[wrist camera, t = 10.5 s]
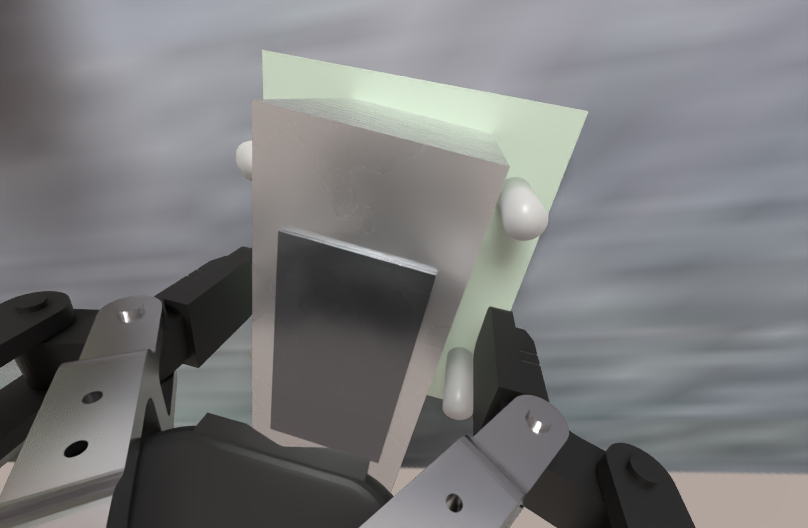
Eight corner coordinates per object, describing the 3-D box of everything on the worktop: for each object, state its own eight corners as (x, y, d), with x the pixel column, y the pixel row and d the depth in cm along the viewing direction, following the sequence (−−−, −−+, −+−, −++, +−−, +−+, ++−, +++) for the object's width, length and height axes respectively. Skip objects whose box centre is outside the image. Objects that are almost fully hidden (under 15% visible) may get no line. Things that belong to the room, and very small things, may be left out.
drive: (351, 97, 12) (247, 99, 6) (492, 133, 11) (510, 168, 6) (319, 350, 17) (250, 466, 12) (412, 378, 17) (384, 510, 12)
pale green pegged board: (472, 384, 18) (472, 463, 14) (284, 336, 19) (236, 397, 15) (575, 109, 12) (627, 116, 8) (283, 54, 13) (199, 36, 9)
